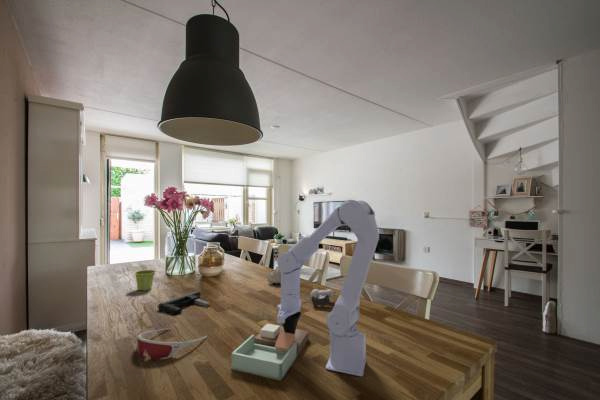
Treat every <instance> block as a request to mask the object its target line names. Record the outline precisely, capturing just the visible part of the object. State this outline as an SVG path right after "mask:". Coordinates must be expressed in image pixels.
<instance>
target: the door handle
mask: <svg viewBox="0 0 600 400" xmlns="http://www.w3.org/2000/svg"><path fill="white" fill-rule="evenodd" d="M201 294H202V293H201V291H200V290H197V291H193V292H190V293H186V294H183V295H181V296H178V297H175V298H171V299H168V300H166V301H162V302H160V303H159V304H158V305H157V309H158V310H159V311H164V312H166V313H169V314H171V315H174V316H177V315H179V314H181V313H182V311H183V309H184V308H186V307H188V306H191V305H194V304H195V305H197V306H201V307H204V308H208V307H210V306H211V305H210V304H211V303H210V302H208V301H206V300H202V299H200V298H199V297H200V296H201Z"/></svg>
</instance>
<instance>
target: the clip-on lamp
mask: <svg viewBox="0 0 600 400" xmlns="http://www.w3.org/2000/svg"><path fill="white" fill-rule="evenodd" d="M309 296H310V297H306V296H303V295H301V294H300V297H302V298H304V299H306V300H311V301H312V306H313V309H314V308H315V309H317V308H318V306H323V305H327V304H331V302H332V299H331V298H332V297H333V296H334V290H333V289H331V288H329V289H328V288H327V289H318V288H314V289H312V290H311V293H310V295H309Z"/></svg>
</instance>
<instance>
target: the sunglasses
mask: <svg viewBox="0 0 600 400" xmlns="http://www.w3.org/2000/svg"><path fill="white" fill-rule="evenodd" d="M171 330H173V328H161V329H155V330H149V331H145V332H142V333H140V334H138V336H137V338H136V339H137V340H136V341H137V342H136V346H137V347H136V348H137V354H139V355H140V356H141V357H144V356H145V354H147V355H148V356H149V358H150V360H167V359H170V358H172V357H174V355H176V354H178V352H179V349H182V348H185V347H188V346H192V345H193V344H194V345H195V344H197V343H199V342H201V341H204V340H206V338H207V337H208V335H205V336H202V337H201V338H197V339H193V340H187V341H160V340H159V341H157V340H151V339H147V338H145V337H147V336H150V335H153V334H155V333H160V332H169V331H171Z"/></svg>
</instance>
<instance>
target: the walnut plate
mask: <svg viewBox="0 0 600 400" xmlns="http://www.w3.org/2000/svg"><path fill="white" fill-rule="evenodd" d="M280 332H284V328H283V326H280ZM278 336H279V334H278V335H277V336H276V337H275V338H274V339H273V338H268V337H262V336H261V331H260V332H259V333H258V334H257V335H256V336H254V343H255V344H260V345H265V346H270V347H275V344H276V342H277V339H278ZM295 337H296V339H295V342H296V343H297V356H299V355H300V353H301V351H302V349H303V348H304V346H305V345H306V344H307V342H308V340H309V331H308V330H304V329H298V328H296V331H295ZM295 342H294V343H295Z"/></svg>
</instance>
